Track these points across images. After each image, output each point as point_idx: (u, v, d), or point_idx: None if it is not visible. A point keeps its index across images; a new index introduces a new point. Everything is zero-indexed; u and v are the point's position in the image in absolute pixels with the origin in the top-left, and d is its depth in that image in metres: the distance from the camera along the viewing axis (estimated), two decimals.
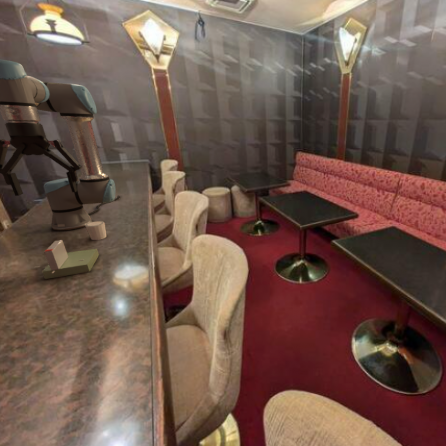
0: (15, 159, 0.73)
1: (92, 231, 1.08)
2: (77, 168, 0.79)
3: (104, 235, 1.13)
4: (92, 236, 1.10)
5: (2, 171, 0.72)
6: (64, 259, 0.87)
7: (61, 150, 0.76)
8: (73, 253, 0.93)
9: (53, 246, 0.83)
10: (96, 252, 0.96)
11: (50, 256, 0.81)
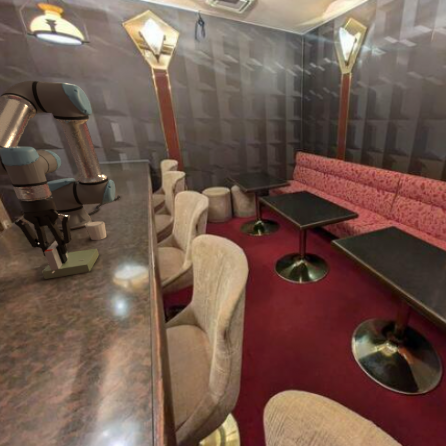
0: (40, 232, 0.80)
1: (92, 231, 1.08)
2: (66, 242, 0.84)
3: (104, 235, 1.13)
4: (92, 236, 1.10)
5: (41, 246, 0.81)
6: None
7: (64, 225, 0.82)
8: (73, 253, 0.93)
9: (53, 246, 0.83)
10: (96, 252, 0.96)
11: (50, 256, 0.81)
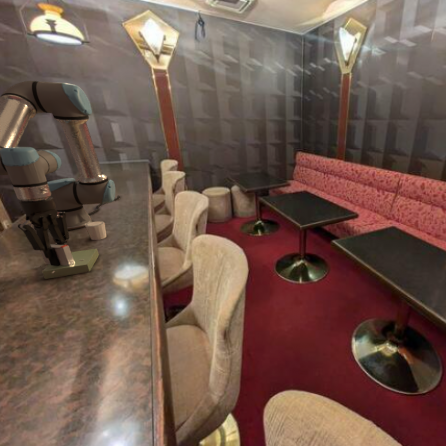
0: (46, 233, 0.80)
1: (92, 231, 1.08)
2: (67, 238, 0.87)
3: (104, 235, 1.13)
4: (92, 236, 1.10)
5: (48, 247, 0.81)
6: None
7: (64, 221, 0.86)
8: (73, 253, 0.93)
9: (54, 245, 0.84)
10: (96, 252, 0.96)
11: (68, 251, 0.84)
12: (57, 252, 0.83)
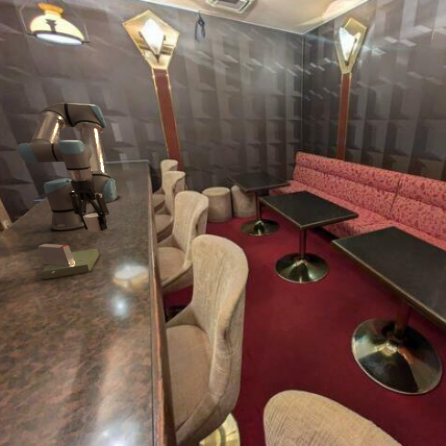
0: None
1: (90, 223, 1.07)
2: None
3: None
4: (90, 228, 1.08)
5: None
6: None
7: None
8: (73, 253, 0.93)
9: (54, 245, 0.84)
10: (96, 252, 0.96)
11: (68, 251, 0.84)
12: (57, 252, 0.83)
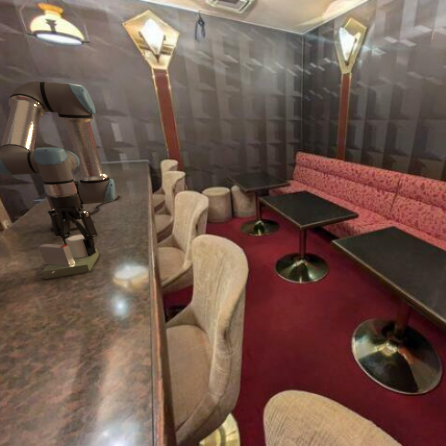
0: None
1: (74, 247, 0.88)
2: None
3: None
4: (74, 253, 0.89)
5: None
6: None
7: None
8: None
9: (54, 245, 0.84)
10: (96, 252, 0.96)
11: (68, 251, 0.84)
12: (57, 252, 0.83)
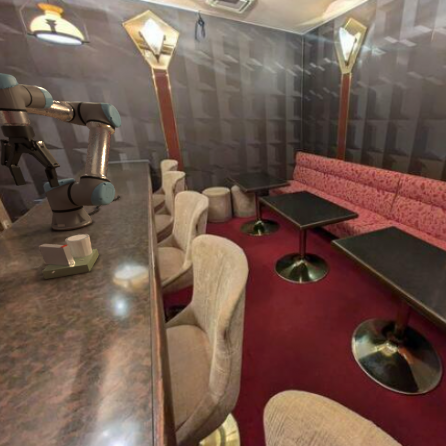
0: None
1: (74, 247, 0.88)
2: None
3: (89, 251, 0.92)
4: (74, 253, 0.89)
5: None
6: None
7: None
8: None
9: (54, 245, 0.84)
10: (96, 252, 0.96)
11: (68, 251, 0.84)
12: (57, 252, 0.83)
